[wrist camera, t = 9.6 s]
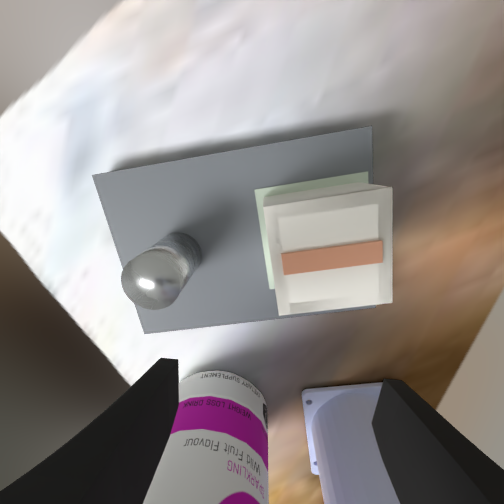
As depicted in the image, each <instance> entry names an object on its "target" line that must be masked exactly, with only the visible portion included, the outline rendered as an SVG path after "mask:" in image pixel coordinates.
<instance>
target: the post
mask: <svg viewBox="0 0 504 504" xmlns="http://www.w3.org/2000/svg"><path fill="white" fill-rule="evenodd" d="M201 259H202V252H201V248H200V246H199V244H198V243H197V241H196V240H195V239H194V238H192V237H191V236H189V235H187V234H185V233H180V232H176V233H171V234H169V235H167V236H165V237H164V238H162V239H161V240H159V241H158V242H157V243H155V244H154V245H152V246H151V247H149V248H148V249H146V250H145V251H144V252H142V253H141V254H139V255H138V256H136V257H135V258H133V259H132V260H131V261H129V262H128V263H127V264H126V266H125V267H124V269H123V271H122V276H121V282H122V287H123V290H124V292H125V293H126V295H127V296H128V298H129V299H130V300H131V301H132V302H134V303H135V304H136V305H138V306H140V307H142V308H145V309H150V310H160V309H164V308H166V307H168V306H170V305H171V304H172V303H174V301H175V300H176V299H177V297H178V296H179V294H180V293H181V291H182V290H183V288H184V287H185V285H186V284H187V282H188V281H189V279H190V278H191V276H192V275H193V274H194V272H195V271H196V269H197V268H198V266H199V264H200V262H201Z"/></svg>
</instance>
